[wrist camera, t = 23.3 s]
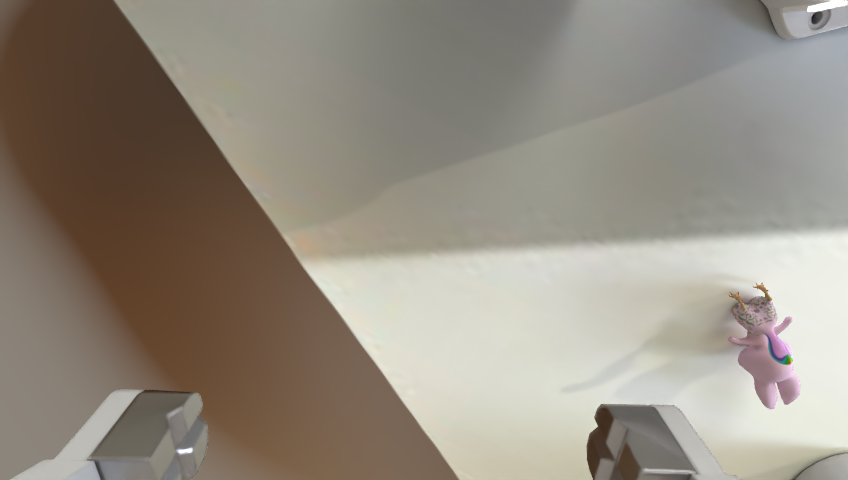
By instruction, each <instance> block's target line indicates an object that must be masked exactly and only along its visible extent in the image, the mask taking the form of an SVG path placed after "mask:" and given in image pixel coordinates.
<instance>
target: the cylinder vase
mask: <svg viewBox="0 0 848 480" xmlns="http://www.w3.org/2000/svg"><path fill="white" fill-rule="evenodd" d="M795 480H848V453H844V454H839V455H835V456H831V457H828V458H826V459H823V460H821V461H819V462H817V463H815V464H813V465H811V466H810V467H808V468H807V469H806V470H804V471H803V472H802V473H801V474H800V475H799V476H798V477H797V478H796V479H795Z"/></svg>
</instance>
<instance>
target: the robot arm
mask: <svg viewBox="0 0 848 480" xmlns="http://www.w3.org/2000/svg"><path fill="white" fill-rule="evenodd" d="M761 1H762V2H763V3H764V4H765V6H766V7H767V8H768V11H769V14H770V17H771V20H772V23H773V25H774V28H775V30H776V32H777V34H778V35H779V36H780V37H781V38H783V39H786V40H790V39H797V38H803V37H807V36H811V35H815V34H819V33H823V32H827V31H831V30H835V29H838V28H842V27H846V26H848V0H761ZM813 14H815V18H814V20H813V22H812V23H811V17H812V15H813ZM202 408H203V404H202V400H201V396H200V394H198V393H195V392H177V391H159V390H131V389H118V390H116V391H114V392H113V393H111V394H110V395H109V396H108V397H107V398H106V399H105V401H104V402H103V403H102V404H101V405H100V406H99V408H98V409H97V410H96V411H95V412H94V413H93V414H92V416H91V417H90V418H89V419H88V420H87V421H86V423H85V424H84V425H83V426H82V427H81V428H80V430H79V431H78V432H77V433H76V434H75V435H74V437H73V438H72V439H71V440H70V441H69V442H68V443H67V445H66V446H65V447H64V448H63V449H62V450H61V452H60V453H59V454H58V455H57V456H56V458H55V459H54V460H43V461H42V462H40V463H38V464H36V465H35V466H33V467H31V468H29V469H28V470H26V471H24V472H22V473H21V474H19V475H17V476H15V477H14V478H12V479H10V480H190V479H191V478H192V477H194V476H195V475H196V474H197V473H198V471H199V469H200V467H201V465H202V463H203V460H204V458H205V454H206V450H207V446H208V428H207V424H206V423H205V422H204V421H203V420H202V419H201V418H200V417H199V416H198V415H199V413H200V412H201V410H202ZM594 418H595V420H596V422H597V425H598V427H597V428H596V429H595V430H593V431H592V432H591V433H590V434H589V438H588V443H587V461H588V465H589V469H590V472H591V475H592V478H593V480H741V479H739V478H738V477H737V476H734V475H727V474H726V473H725V471H724V470H723V468H722V467H721V466H720V464H719V463H718V462H717V460H716V459H715V457H714V456H713V455H712V453H711V452H710V450H709V449H708V448H707V446H706V445H705V443H704V442H703V441H702V439H701V438H700V436H699V435H698V434H697V432H696V431H695V430H694V428H693V427H692V425H691V424H690V423H689V421H688V420H687V418H686V417H685V416H684V414H683V413H682V411H681V410H680V409H679V408H677V407H676V406H674V405H627V404H601V405H600V406H599V407H598V408H597V411H596V414H595V417H594Z"/></svg>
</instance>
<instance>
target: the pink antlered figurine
mask: <svg viewBox="0 0 848 480" xmlns="http://www.w3.org/2000/svg"><path fill="white" fill-rule="evenodd" d="M761 284H762V283H761ZM756 285H757V287H754V286H753V287H754V288H757V289H760V290H762V291H763V292H764V293H765V297H762V296H758V297H755V298H753V299H752V301H751V303H750V304H745V303H742V301H741V300H743V299H741V298H740V296H739V292H738V293H737V294H732V293H731V292H730V294H731V296H730V295H729V296H730V297H732V298H735V299H736V300H738V301H739V303H738V304H736V305H735V306H734V307H733V310H732V312H733V315H734V317H735V319H736V320H737V321H738V322H739V323H740V324H741V325H742V326H743V327H744V328H745V329H747V330H748V331H747V337H746V338H743V339H736V338H734V337H729V338H728V341H730V342H732V343H735V344H739V345H748V346H747V348H745V349H743V350H742V351H741V352H740V354H739V358H738V362H739V364H740V365H741V366H742V367H743V368H744V369H746V370H747V371H748V372H749V373H750V374H751V375H752V376H753V377H754V385H755V390H756V393H757V395H758V397H759V398H760V400H761V402H762V403H763V404H764V406H766V407H767V408H769V409H774V408H775V405H776V402H777V391H776V386H775V383H777V386H778V389H779V392H780V395H781V398H782V400H783V402H784V404H785V405H787V404H789V403H791V402H793V401H794V400H795V399H796V398H797V397H798V396H799V394H800V382H799V379H798V377H797V376H796V374H795V373H793V363H792V362H793V360H792V358H791V356H792V348H791V346H790V345H789V344H787V343H785V342H783V341H781V340H780V339H779V338H778V337H777V335H778V334H779V333H781V332H782V331H783V330H784V329H785V328H786V327H787V326H788V325H789V324H790V323H791V322H792V320H793V319H792V317H786V318H785V320H784V321H783V323H782V324H781V325H779V326H777V327H775V325H776V323H777V313H776V310H775V308H774V306H773V303H772V298H771V297H770V296H769V295H768V292H767V291H768V290H766V288H765V287H764V285H763V284H762V285H758V284H757V283H756ZM774 327H775V328H774Z"/></svg>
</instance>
